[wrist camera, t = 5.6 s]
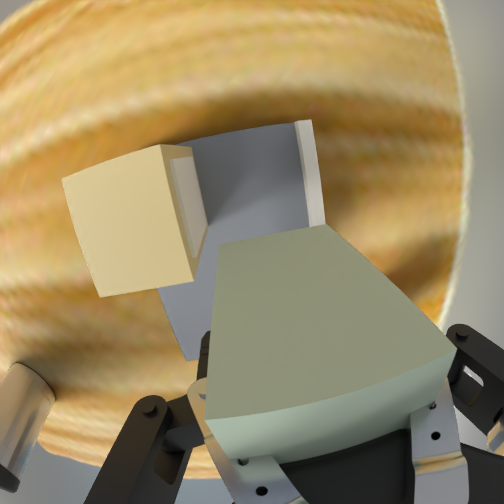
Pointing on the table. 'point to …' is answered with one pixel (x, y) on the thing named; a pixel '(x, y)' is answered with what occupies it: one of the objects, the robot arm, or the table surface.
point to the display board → (244, 208)
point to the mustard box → (139, 219)
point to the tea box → (313, 348)
